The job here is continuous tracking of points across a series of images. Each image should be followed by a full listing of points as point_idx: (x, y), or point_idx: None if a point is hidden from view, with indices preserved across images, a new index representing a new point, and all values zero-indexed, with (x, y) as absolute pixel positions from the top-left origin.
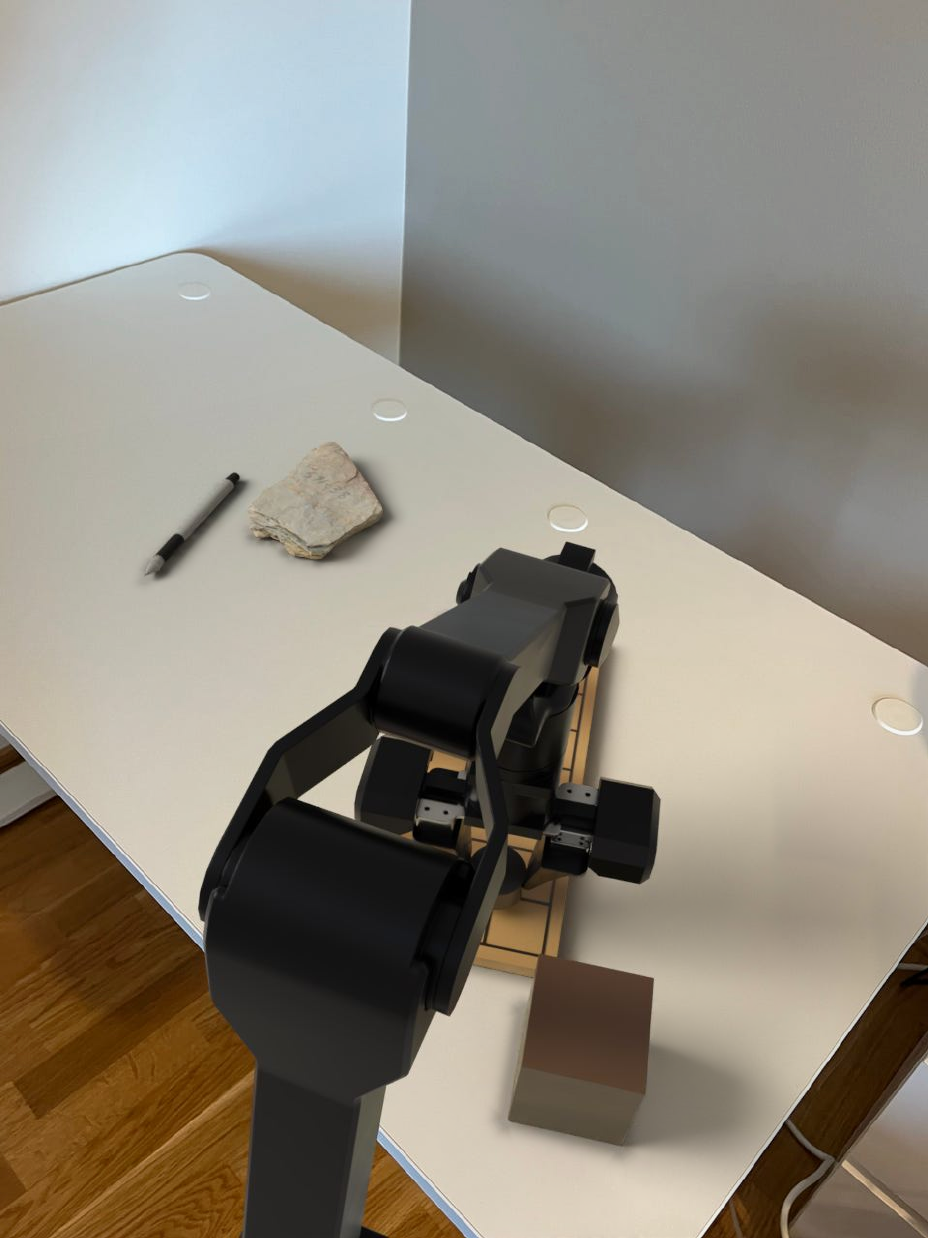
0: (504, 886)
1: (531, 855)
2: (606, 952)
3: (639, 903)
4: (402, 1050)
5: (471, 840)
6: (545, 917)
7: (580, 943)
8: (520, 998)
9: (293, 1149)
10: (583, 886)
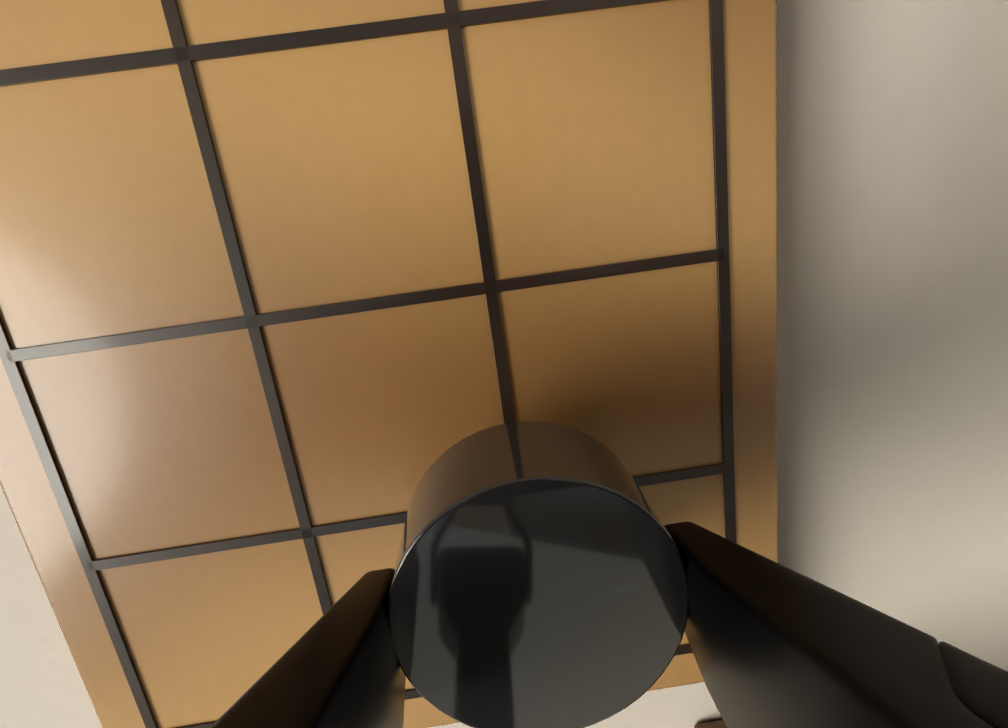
0: (600, 683)
1: (751, 629)
2: (892, 492)
3: (995, 288)
4: None
5: (342, 683)
6: (719, 517)
7: (812, 494)
8: (672, 694)
9: None
10: (801, 295)
